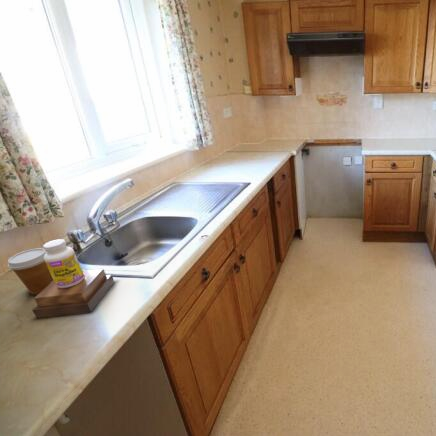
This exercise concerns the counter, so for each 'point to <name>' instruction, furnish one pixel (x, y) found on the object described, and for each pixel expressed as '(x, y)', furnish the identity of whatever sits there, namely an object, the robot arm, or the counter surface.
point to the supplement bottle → (62, 264)
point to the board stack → (73, 295)
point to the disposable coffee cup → (31, 269)
